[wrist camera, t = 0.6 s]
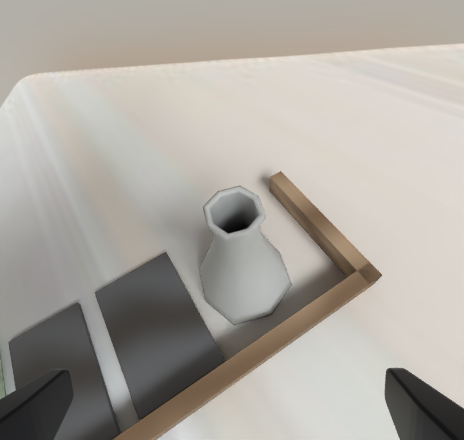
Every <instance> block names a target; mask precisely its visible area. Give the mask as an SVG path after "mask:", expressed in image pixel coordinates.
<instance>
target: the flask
mask: <svg viewBox="0 0 464 440" xmlns="http://www.w3.org/2000/svg"><path fill="white" fill-rule="evenodd" d="M203 210H204V214H205V218H206V222H207V226H208V229H209V230H210V231H212V232H213V240H212V243H211V245H210V247H209V250H208V252H207V254H206V256H205V258H204V260H203V261H202V263H201V265H200V267H199V271H200V276H201V281H202V285H203V290H204V295H205V300H206V302H207V303H208V304H210V305H211V306H212V307H213V308H214V309H216V310H217V311H218V312H219V313H221V314H222V315H223V316H224V317H225V318H227V319H228V320H229V321H230V322H232V323H233V324H234V325H235V324H239V323H242V322H246V321H249V320H253V319H256V318H260V317H263V316H266V315H270V314H272V312H273V311H274V309H275V308H276V307H277V305H278V304H279V302H280V301H281V299H282V298H283V297H284V295H285V294H286V292H287V291H288V290H289V288H290V287H291V285H292V283H291V281H290V278H289V275H288V273H287V270H286V268H285V265H284V262H283V260H282V257H281V254H280V252H279V251H278V250H277V249H276V248H275V247H274V246H273V245H272V244H271V243H270V242H269V241H268V240H267V239H266V237H265V236H264V235H263V234H262V233H261V232H260V225H261V223H262V222H263V221H264V220H265V218H266V215H265V212H264V210H263V207H262V204H261V202H260V199H259V196H257V195H255V194H254V193H252V192H250V191H248V190H247V189H245V188H243V187H241V186H237V187H233V188H229V189H225V190H221V191H218V192H217V193H216V194H215V195H214V196H213V197H212V198H211V199H210V200H209V201H208V202H207V203H206V204H205V205H204V206H203Z"/></svg>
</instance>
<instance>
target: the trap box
mask: <svg viewBox="0 0 464 440" xmlns="http://www.w3.org/2000/svg"><path fill="white" fill-rule="evenodd" d="M270 192H271V193H272V194H273V195H274V196H275V197H276V198H277V199H278V200H279V202H280V203H281V204H282V205H283V206H284V207H285V208H286V209H287V210H288V212H289V213H290V214H291V215H292V216H293V217H294V218H295V219H296V220H297V222H298V223H299V224H300V225H301V226H302V227H303V228H304V229H305V230H306V232H307V233H308V234H309V235H310V236H311V237H312V238H313V239H314V240H315V242H316V243H317V244H318V245H319V246H320V247H321V248H322V249H323V251H324V252H325V253H326V254H327V255H328V256H329V257H330V258H331V259H332V261H333V262H334V263H335V264H336V265H337V266H338V267H339V268H340V269H341V271H342V272H343V273H344V274H345V275H346V276H347V278H346V279H344V280H343V281H342V282H340V283H339V284H337V285H336V286H334V287H333V288H331V289H330V290H328V291H327V292H326V293H324V294H323V295H321V296H320V297H318V298H317V299H315V300H314V301H313V302H311V303H310V304H308V305H307V306H305V307H304V308H302V309H301V310H300V311H298V312H297V313H295V314H294V315H292V316H291V317H289V318H288V319H286V320H285V321H284V322H282V323H281V324H279V325H278V326H276V327H275V328H273V329H272V330H271V331H269V332H268V333H266V334H265V335H263V336H262V337H260V338H259V339H258V340H256V341H255V342H253V343H252V344H250V345H249V346H247V347H246V348H244V349H243V350H242V351H240V352H239V353H237V354H236V355H234V356H233V357H231V358H230V359H229V360H227V361H226V362H225V360H224V358H223V356H222V354H221V353H220V351H219V349H218V347H217V345H216V343H215V341H214V340H213V338H212V336H211V334H210V332H209V330H208V329H207V327H206V325H205V323H204V321H203V319H202V318H201V316H200V314H199V312H198V310H197V308H196V307H195V305H194V303H193V301H192V299H191V297H190V295H189V294H188V292H187V290H186V288H185V286H184V284H183V283H182V281H181V279H180V277H179V275H178V273H177V272H176V270H175V268H174V266H173V264H172V262H171V260H170V259H169V257H168V255H167V253H164V254H162V255H160V256H159V257H157V258H155V259H153V260H152V261H150V262H148V263H146V264H145V265H143V266H141V267H139V268H138V269H136V270H134V271H132V272H131V273H129V274H127V275H125V276H124V277H122V278H120V279H118V280H117V281H115V282H113V283H111V284H110V285H108V286H106V287H104V288H103V289H101V290H99V291H97V292H95V295H96V298H97V301H98V304H99V306H100V309H101V312H102V315H103V318H104V321H105V324H106V326H107V329H108V332H109V335H110V338H111V341H112V343H113V346H114V349H115V352H116V355H117V358H118V361H119V363H120V366H121V369H122V372H123V375H124V378H125V380H126V383H127V386H128V389H129V392H130V395H131V397H132V400H133V403H134V406H135V409H136V412H137V415H138V417H139V420H140V419H142V420H140V421H139V422H137V423H136V424H134V425H133V426H132V427H130V428H129V429H127V430H126V431H124V432H123V433H121V434H120V431H119V428H118V424H117V421H116V418H115V415H114V412H113V408H112V405H111V402H110V399H109V396H108V392H107V389H106V386H105V383H104V380H103V377H102V373H101V370H100V367H99V364H98V361H97V357H96V354H95V351H94V348H93V345H92V342H91V338H90V335H89V332H88V329H87V326H86V322H85V319H84V316H83V313H82V310H81V306H80V304H78V303H76V304H74V305H73V306H71V307H69V308H67V309H66V310H64V311H62V312H60V313H59V314H57V315H55V316H53V317H52V318H50V319H48V320H46V321H45V322H43V323H41V324H39V325H38V326H36V327H34V328H32V329H31V330H29V331H27V332H25V333H24V334H22V335H20V336H18V337H17V338H15V339H13V340H11V341H10V342H9V349H10V355H11V361H12V367H13V374H14V380H15V386H16V390H17V389H19V388H21V387H23V386H24V385H26V384H28V383H29V382H31V381H33V380H35V379H36V378H38V377H40V376H42V375H43V374H45V373H47V372H49V371H50V370H53V369H67V370H68V371H69V373H70V377H71V381H72V386H73V391H74V396H73V400H72V403H71V405H70V407H69V409H68V411H67V414H66V416H65V418H64V420H63V422H62V424H61V426H60V428H59V430H58V432H57V435H56V437H55V439H54V440H112V439H113V440H156V439H157V438H159V437H160V436H162V435H163V434H164V433H166V432H167V431H169V430H170V429H171V428H173V427H174V426H176V425H177V424H178V423H180V422H181V421H183V420H184V419H185V418H187V417H188V416H190V415H191V414H192V413H194V412H195V411H197V410H198V409H199V408H201V407H202V406H204V405H205V404H206V403H208V402H209V401H211V400H212V399H213V398H215V397H216V396H218V395H219V394H220V393H222V392H223V391H225V390H226V389H227V388H229V387H230V386H232V385H233V384H234V383H236V382H237V381H239V380H240V379H241V378H243V377H244V376H246V375H247V374H248V373H250V372H251V371H253V370H254V369H255V368H257V367H258V366H260V365H261V364H262V363H264V362H265V361H267V360H268V359H269V358H271V357H272V356H274V355H275V354H276V353H278V352H279V351H281V350H282V349H283V348H285V347H286V346H288V345H289V344H290V343H292V342H293V341H295V340H296V339H297V338H299V337H300V336H302V335H303V334H304V333H306V332H307V331H309V330H310V329H311V328H313V327H314V326H316V325H317V324H318V323H320V322H321V321H323V320H324V319H325V318H327V317H328V316H330V315H331V314H332V313H334V312H335V311H337V310H338V309H339V308H341V307H342V306H344V305H345V304H346V303H348V302H349V301H351V300H352V299H353V298H355V297H356V296H358V295H359V294H360V293H362V292H363V291H365V290H366V289H367V288H369V287H370V286H372V285H373V284H374V283H375V282H376V281H377V280H378V279H379V278H380V277H381V276H382V274H381V273H380V272H379V271H378V270H377V269H376V268H375V267H374V266H373V265H372V264H371V263H370V262H369V261H368V260H367V259H366V258H365V257H364V256H363V255H362V254H361V253H360V252H359V251H358V250H357V249H356V248H355V247H354V246H353V245H352V244H351V243H350V242H349V241H348V239H347V238H346V237H345V236H344V235H343V234H342V233H341V232H340V231H339V230H338V229H337V228H336V227H335V226H334V225H333V224H332V223H331V222H330V221H329V220H328V219H327V218H326V217H325V216H324V215H323V214H322V213H321V212H320V211H319V210H318V209H317V208H316V207H315V206H314V205H313V204H312V203H311V202H310V201H309V200H308V199H307V198H306V197H305V195H304V194H303V193H302V192H301V191H300V190H299V189H298V188H297V187H296V186H295V185H294V184H293V183H292V182H291V181H290V180H289V179H288V178H287V177H286V176H285V175H284V174H283V173H282V172H281V171H280V172H278V173H277V174H275V175H273V176H271V177H270ZM222 363H223V364H222ZM219 365H220V366H219ZM215 368H216V369H215ZM212 370H213V371H212ZM209 372H210V373H209ZM206 374H207V375H206ZM203 376H204V377H203ZM199 379H200V380H199ZM196 381H197V382H196ZM193 383H194V384H193ZM190 385H191V386H190ZM186 388H187V389H186ZM183 390H184V391H183ZM180 392H181V393H180ZM177 394H178V395H177ZM174 396H175V397H174ZM173 397H174V398H173ZM170 399H171V400H170ZM167 401H168V402H167ZM164 403H165V404H164ZM161 405H162V406H161ZM157 408H158V409H157ZM154 410H155V411H154ZM151 412H152V413H151ZM148 414H149V415H148ZM144 417H145V418H144ZM119 434H120V435H119ZM115 437H116V438H115Z"/></svg>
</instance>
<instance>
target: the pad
mask: <svg viewBox="0 0 464 440" xmlns="http://www.w3.org/2000/svg"><path fill="white" fill-rule="evenodd" d="M5 396H6V395H5V388H4V381H3V373H2V366H1V359H0V399H2V398H3V397H5Z"/></svg>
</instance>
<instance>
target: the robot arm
mask: <svg viewBox="0 0 464 440" xmlns="http://www.w3.org/2000/svg"><path fill="white" fill-rule="evenodd" d="M73 396H74V391H73V386H72V381H71V377H70V373H69V371H68V370H67V369H53V370H50V371H49V372H47V373H45V374H43V375H42V376H40V377H38V378H36V379H35V380H33V381H31V382H29V383H28V384H26V385H24V386H23V387H21V388H19V389H17V390H16V391H14V392H12V393H10V394H9V395H7V396H5V397H3V398H2V399H0V440H54V439H55V437H56V435H57V432H58V430H59V428H60V426H61V424H62V422H63V420H64V418H65V416H66V414H67V411H68V409H69V407H70V405H71V403H72V400H73ZM385 400H386V404H387V407H388V409H389V412H390V414H391V417H392V420H393V422H394V425H395V428H396V430H397V433H398V436H399V438H400V440H464V408H462V407H461V406H459V405H458V404H456V403H455V402H453V401H452V400H450V399H449V398H447V397H446V396H444V395H443V394H441V393H440V392H438V391H437V390H435V389H434V388H433V387H431V386H430V385H428V384H427V383H425V382H424V381H422V380H421V379H419V378H418V377H416V376H415V375H413V374H412V373H410V372H409V371H407V370H406V369H404V368H388V369H387V371H386V380H385Z"/></svg>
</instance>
